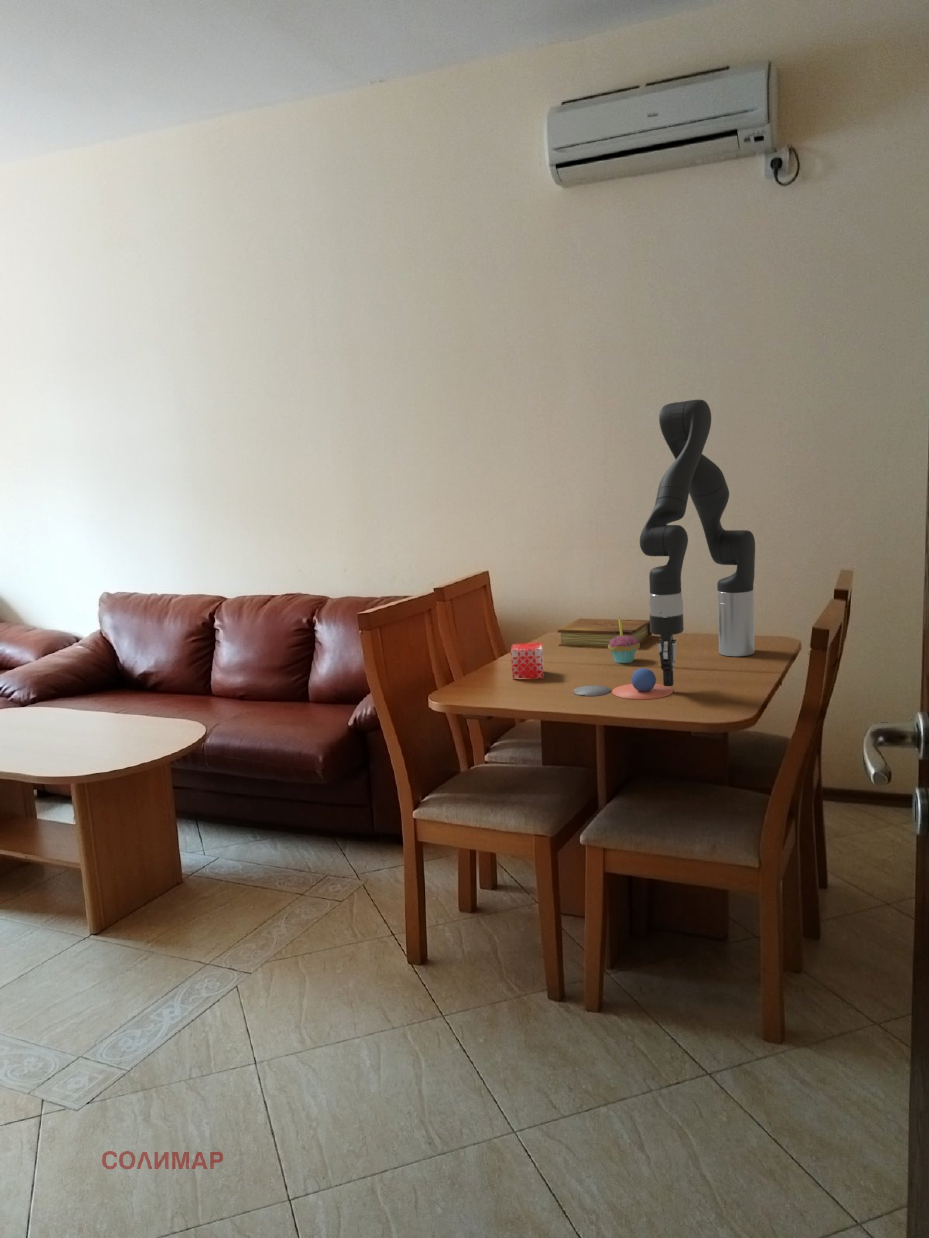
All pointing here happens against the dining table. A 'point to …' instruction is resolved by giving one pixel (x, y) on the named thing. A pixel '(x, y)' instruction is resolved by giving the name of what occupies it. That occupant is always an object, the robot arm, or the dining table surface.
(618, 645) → the cupcake
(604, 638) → the diary
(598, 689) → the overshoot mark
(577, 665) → the dining table surface
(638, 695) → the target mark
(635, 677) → the ball
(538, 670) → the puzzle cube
